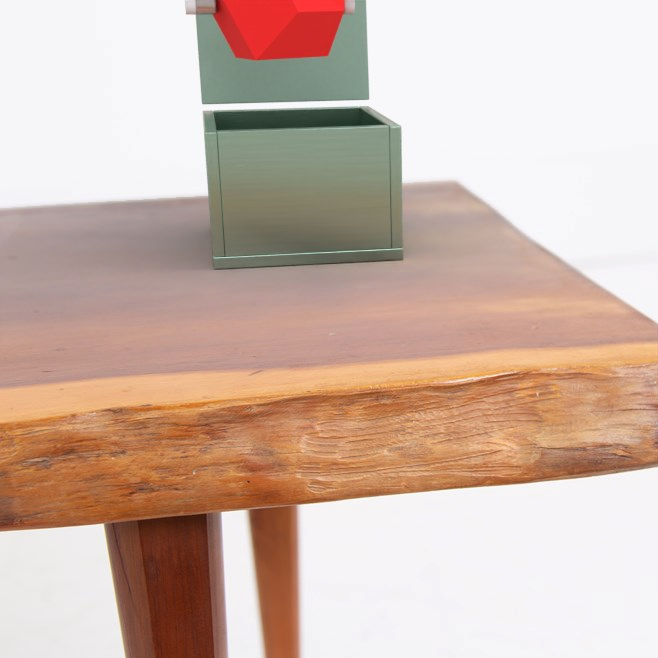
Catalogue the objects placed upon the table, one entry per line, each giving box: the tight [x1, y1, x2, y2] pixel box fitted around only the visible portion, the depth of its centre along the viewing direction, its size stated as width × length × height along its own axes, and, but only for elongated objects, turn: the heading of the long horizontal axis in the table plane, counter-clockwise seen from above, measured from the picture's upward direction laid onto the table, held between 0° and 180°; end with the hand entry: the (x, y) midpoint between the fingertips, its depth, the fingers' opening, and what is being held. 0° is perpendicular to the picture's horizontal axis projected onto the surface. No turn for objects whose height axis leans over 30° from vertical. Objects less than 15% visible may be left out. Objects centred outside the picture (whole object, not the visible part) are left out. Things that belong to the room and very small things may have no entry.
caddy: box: [202, 105, 404, 270], centre depth 80 cm, size 15×13×9 cm
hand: (269, 14), depth 55 cm, fingers closed on apple, 5 cm apart
